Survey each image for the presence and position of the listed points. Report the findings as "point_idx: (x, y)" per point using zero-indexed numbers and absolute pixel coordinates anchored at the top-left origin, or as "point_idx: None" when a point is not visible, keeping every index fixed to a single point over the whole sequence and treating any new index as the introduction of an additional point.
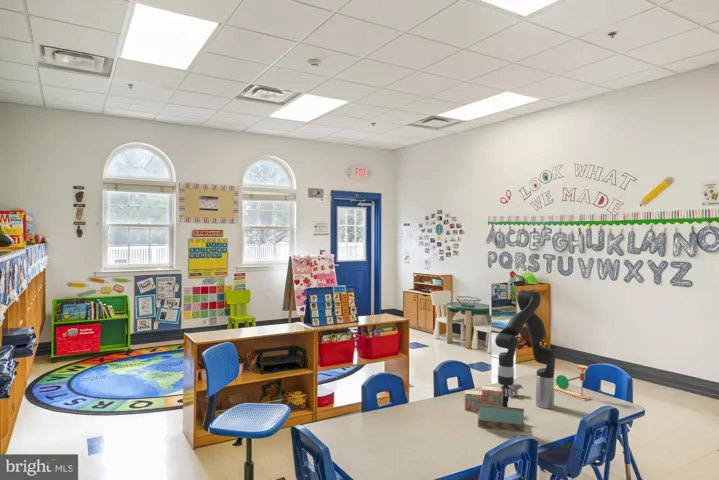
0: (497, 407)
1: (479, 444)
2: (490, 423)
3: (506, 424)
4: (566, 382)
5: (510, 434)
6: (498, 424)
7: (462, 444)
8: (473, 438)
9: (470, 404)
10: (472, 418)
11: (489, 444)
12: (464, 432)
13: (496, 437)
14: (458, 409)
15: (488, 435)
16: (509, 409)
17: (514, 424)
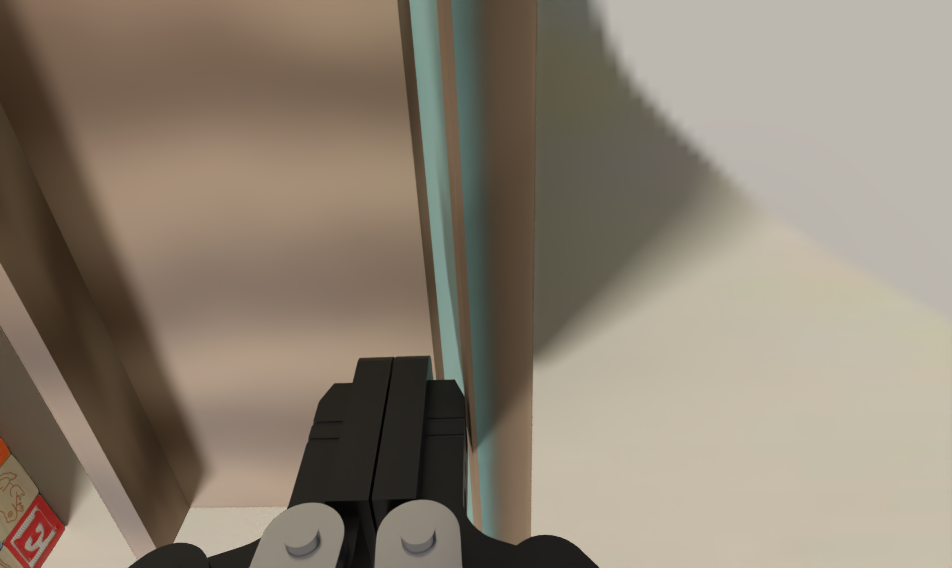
0: (527, 535)
1: (918, 415)
2: (440, 367)
3: (421, 189)
4: None
5: (580, 104)
6: (433, 283)
7: (912, 519)
8: (773, 458)
9: (2, 551)
10: None
11: (922, 337)
12: (642, 516)
13: (717, 272)
14: (101, 565)
15: (673, 347)
16: (527, 331)
17: (409, 69)
